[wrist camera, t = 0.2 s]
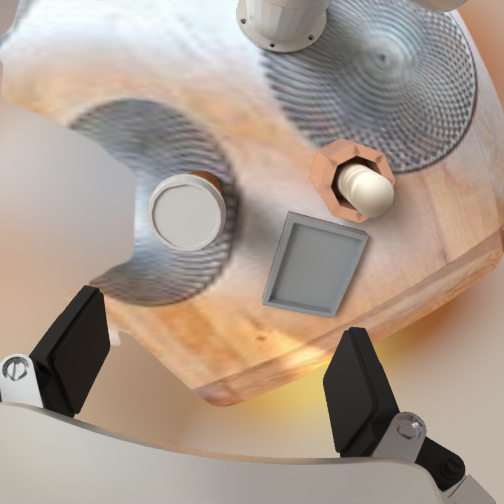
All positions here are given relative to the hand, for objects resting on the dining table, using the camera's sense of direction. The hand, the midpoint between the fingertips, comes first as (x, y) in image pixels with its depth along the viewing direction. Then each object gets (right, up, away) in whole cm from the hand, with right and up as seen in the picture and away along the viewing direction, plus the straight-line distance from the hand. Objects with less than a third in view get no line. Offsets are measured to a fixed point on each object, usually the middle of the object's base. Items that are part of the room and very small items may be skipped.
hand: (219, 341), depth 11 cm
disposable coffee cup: (-6, +12, +34) cm, 37 cm away
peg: (+15, +15, +32) cm, 38 cm away
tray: (+11, +1, +39) cm, 41 cm away
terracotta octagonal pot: (+15, +15, +33) cm, 39 cm away
